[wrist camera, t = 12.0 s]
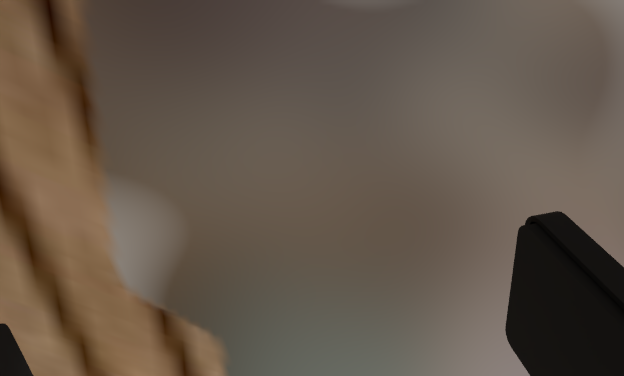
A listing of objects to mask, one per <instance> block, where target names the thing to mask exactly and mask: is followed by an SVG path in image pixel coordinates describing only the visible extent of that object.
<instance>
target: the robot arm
mask: <svg viewBox="0 0 624 376" xmlns="http://www.w3.org/2000/svg"><path fill="white" fill-rule="evenodd" d="M507 313H508V314H507V321H506V335H507V339H508V342H509V344H510V346H511V347H512V349H513V351H514V352H515V354H516V355H517V356H518V358H519V359H520V361H521V362H522V364H523V365H524V367H525V368H526V370H527V371H528V373H529V374H530V376H624V267H623V266H622V265H620V264H619V263H618V262H617V261H616V260H615V259H614V258H613V257H612V256H611V255H609V254H608V253H607V252H606V251H605V250H604V249H603V248H602V247H601V246H600V245H598V244H597V243H596V242H595V241H594V240H593V239H592V238H591V237H590V236H588V235H587V234H586V233H585V232H584V231H583V230H582V229H581V228H580V227H579V226H577V225H576V224H575V223H574V222H573V221H572V220H571V219H570V218H569V217H568V216H566V215H565V214H564V213H562V212H558V211H557V212H552V213H546V214H541V215H536V216H531V217H529V218H528V219H527V220H526V223H525V225H523V226H521V227H520V228H519V230H518V236H517V244H516V251H515V259H514V266H513V274H512V282H511V290H510V297H509V305H508V312H507ZM0 376H33V374H32V372H31V370H30V368H29V366H28V364H27V362H26V360H25V358H24V356H23V354H22V352H21V350H20V348H19V346H18V344H17V343H16V341H15V339H14V337H13V335H12V333H11V331H10V329H9V327H8V326H7V325H6V324H0Z"/></svg>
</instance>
